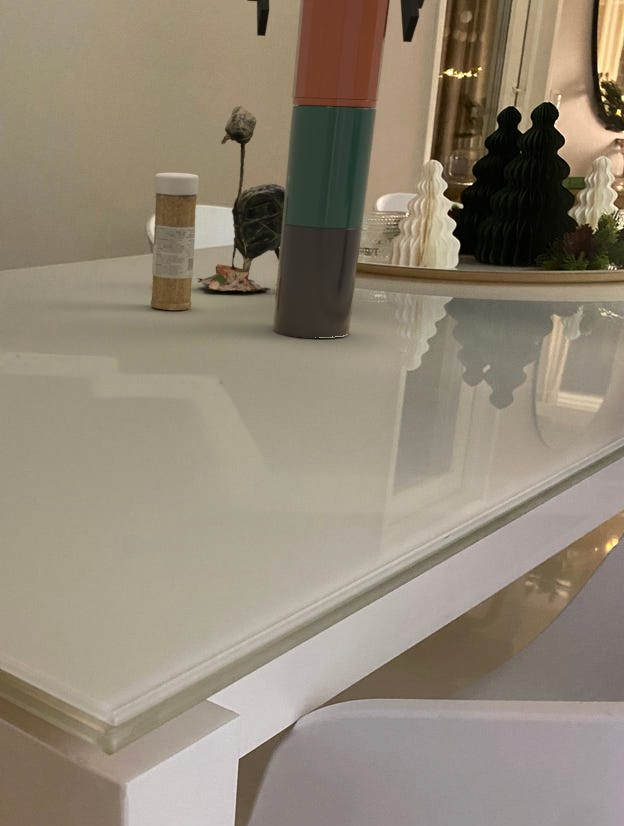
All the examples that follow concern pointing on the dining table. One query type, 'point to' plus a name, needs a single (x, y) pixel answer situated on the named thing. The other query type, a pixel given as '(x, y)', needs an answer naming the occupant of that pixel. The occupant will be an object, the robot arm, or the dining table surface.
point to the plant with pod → (249, 216)
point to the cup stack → (322, 219)
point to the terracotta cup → (339, 52)
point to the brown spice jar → (174, 240)
